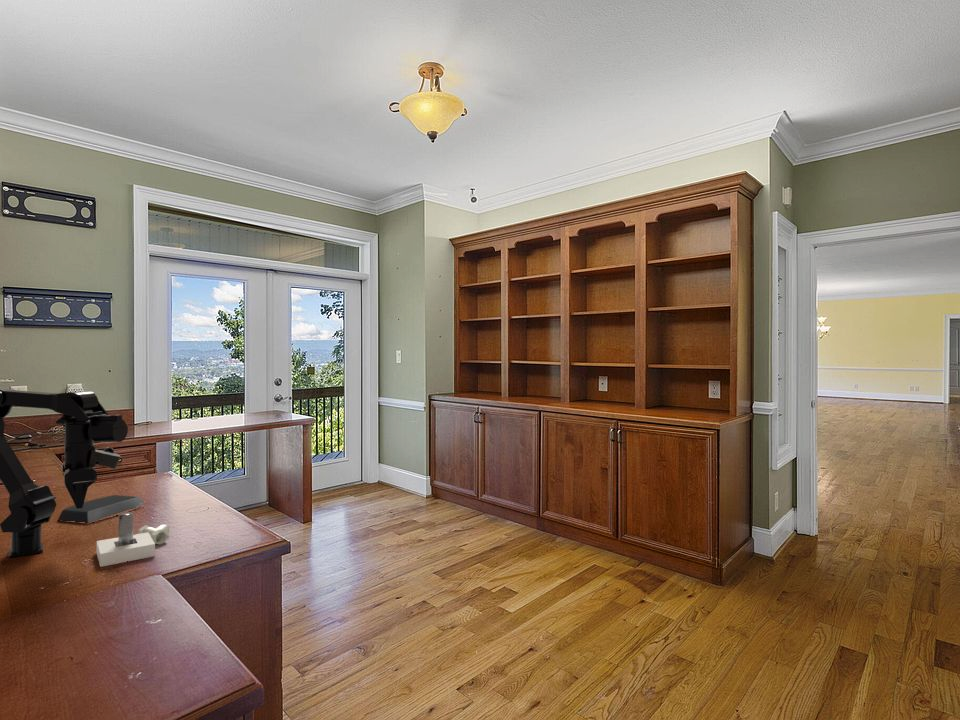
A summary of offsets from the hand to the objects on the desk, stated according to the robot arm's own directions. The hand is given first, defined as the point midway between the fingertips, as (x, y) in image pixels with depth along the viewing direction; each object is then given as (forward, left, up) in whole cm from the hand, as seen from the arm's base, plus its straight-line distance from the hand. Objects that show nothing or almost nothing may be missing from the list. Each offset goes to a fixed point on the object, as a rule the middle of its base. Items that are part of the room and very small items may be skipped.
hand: (78, 504), depth 132 cm
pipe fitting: (+1, +17, -12) cm, 21 cm away
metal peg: (+9, +9, -12) cm, 17 cm away
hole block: (+9, +9, -12) cm, 17 cm away
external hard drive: (-36, +8, -13) cm, 39 cm away
